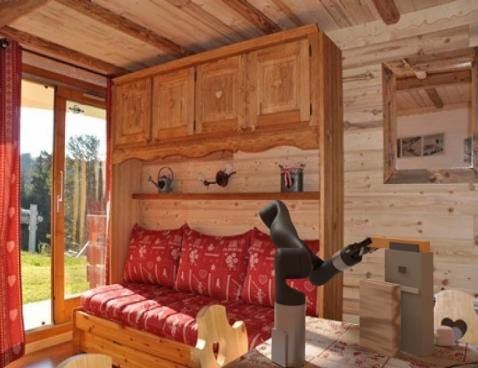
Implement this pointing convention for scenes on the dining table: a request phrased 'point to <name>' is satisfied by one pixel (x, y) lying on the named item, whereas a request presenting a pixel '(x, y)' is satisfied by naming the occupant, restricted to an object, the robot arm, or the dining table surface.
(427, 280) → the case
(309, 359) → the dining table surface
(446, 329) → the power adapter
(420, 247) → the orange block
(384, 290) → the birch block
